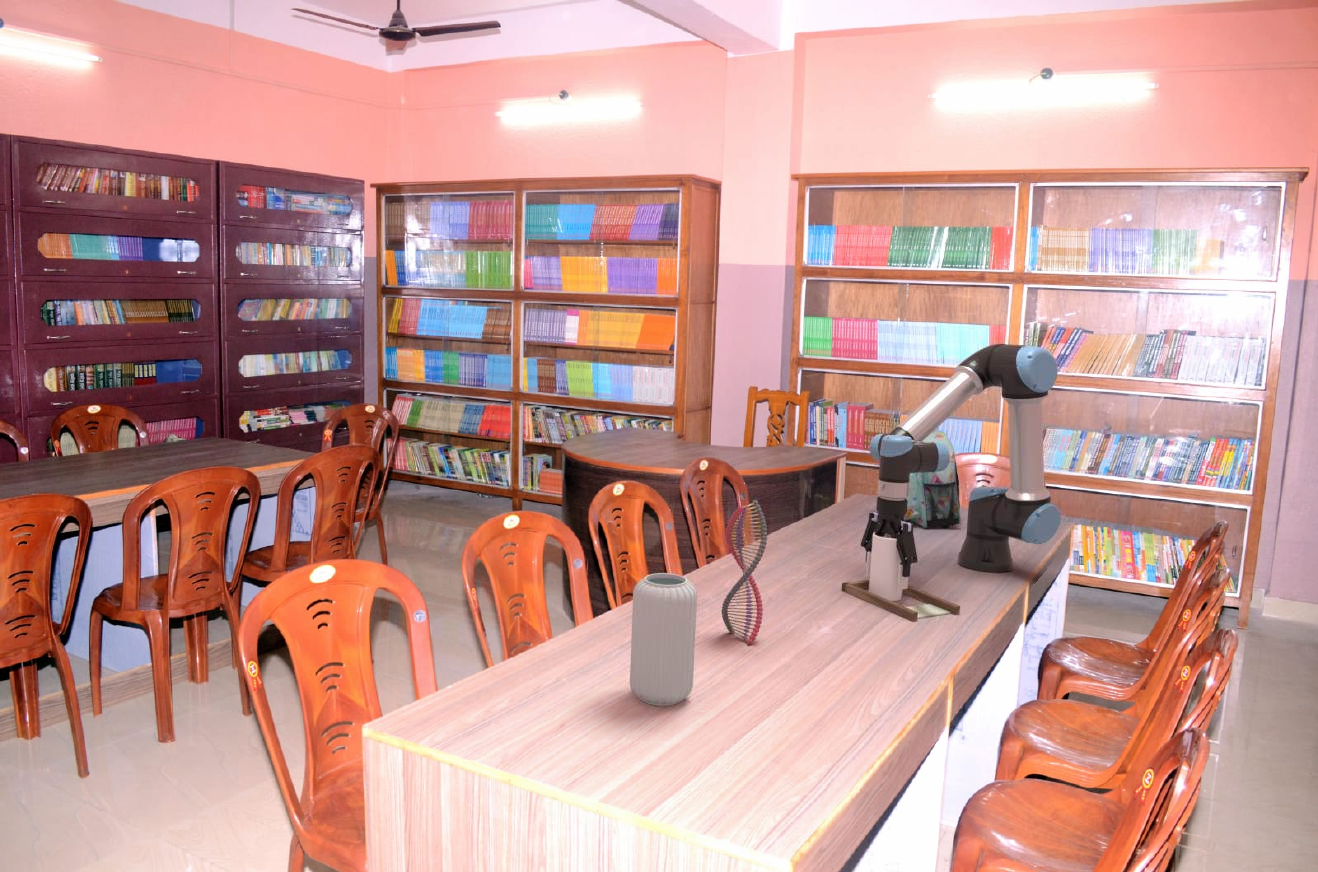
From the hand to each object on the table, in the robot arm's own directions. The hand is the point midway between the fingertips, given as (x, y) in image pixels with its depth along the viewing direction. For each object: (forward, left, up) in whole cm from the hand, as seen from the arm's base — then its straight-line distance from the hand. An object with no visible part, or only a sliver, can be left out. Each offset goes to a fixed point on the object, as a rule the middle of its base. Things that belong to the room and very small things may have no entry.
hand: (885, 582), depth 244 cm
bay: (0, +5, -4) cm, 6 cm away
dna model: (+52, +13, -4) cm, 54 cm away
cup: (0, 0, -4) cm, 4 cm away
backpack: (-71, -65, -4) cm, 96 cm away
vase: (+83, +34, -4) cm, 90 cm away
